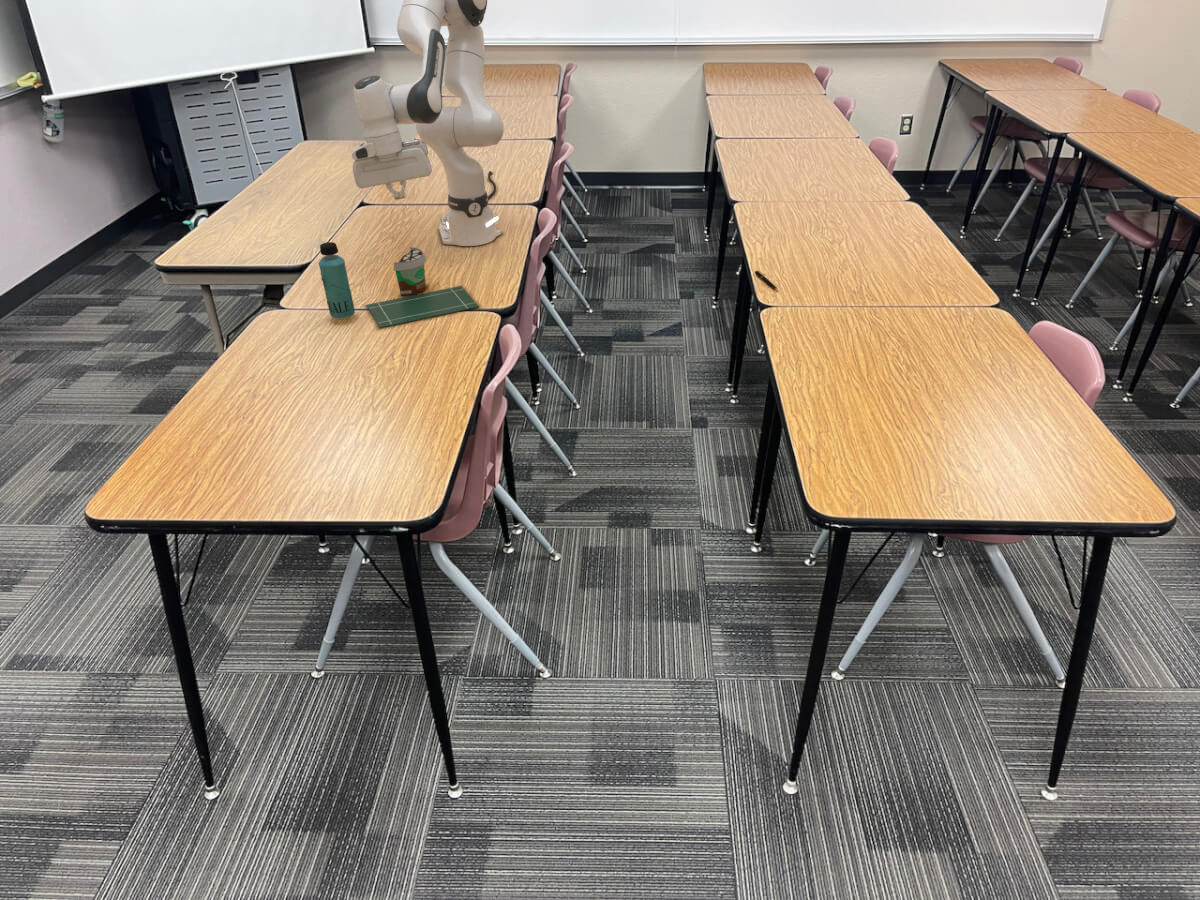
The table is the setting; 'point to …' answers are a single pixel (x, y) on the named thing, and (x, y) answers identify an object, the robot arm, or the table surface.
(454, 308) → the cutting mat
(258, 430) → the table surface
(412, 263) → the grey green half-round piece
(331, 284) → the beverage bottle
